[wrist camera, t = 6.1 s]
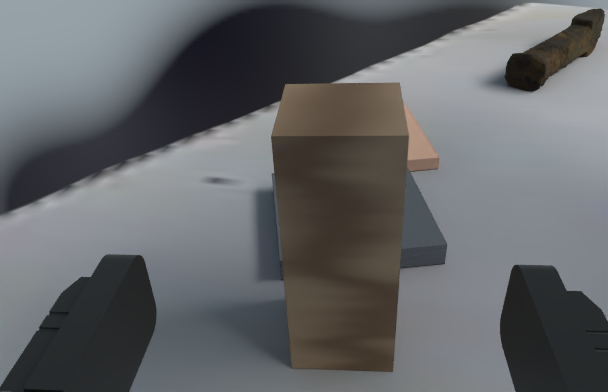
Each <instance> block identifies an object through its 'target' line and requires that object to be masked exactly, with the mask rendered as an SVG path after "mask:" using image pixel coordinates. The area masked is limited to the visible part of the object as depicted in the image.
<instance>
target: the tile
mask: <svg viewBox="0 0 608 392" xmlns="http://www.w3.org/2000/svg"><path fill="white" fill-rule="evenodd" d="M404 110H405V116H406V121H407V127H408V132H409V145H408V159H407V167H408V169H409V171H417V170H428V169H438V164H439V156H438V155H437V153H436V152H435V150H434V148H433V147H432V145H431V144H430V142H429V140H428V139H427V137H426V136H425V134H424V133H423V131H422V129H421V128H420V126H419V125H418V123H417V121H416V120H415V118H414V117H413V115H412V113H411V112H410V110H409V109H408V107H407V105H404Z"/></svg>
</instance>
